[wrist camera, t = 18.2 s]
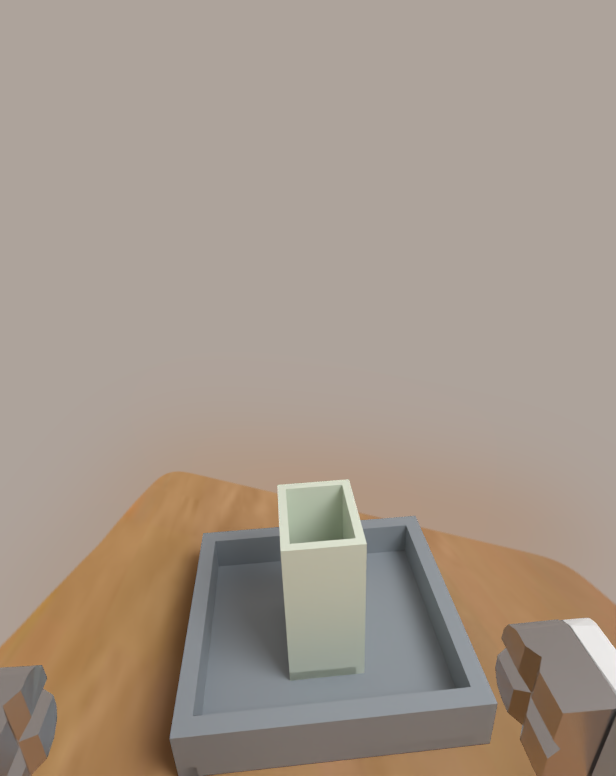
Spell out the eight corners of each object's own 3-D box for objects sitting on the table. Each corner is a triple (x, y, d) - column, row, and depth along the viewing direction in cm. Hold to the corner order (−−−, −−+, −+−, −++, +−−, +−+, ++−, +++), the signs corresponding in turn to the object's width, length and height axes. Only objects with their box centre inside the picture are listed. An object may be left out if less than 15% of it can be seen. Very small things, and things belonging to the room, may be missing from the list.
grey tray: (178, 778, 31) (169, 738, 29) (208, 566, 47) (203, 533, 45) (489, 743, 32) (497, 703, 30) (413, 548, 48) (415, 515, 47)
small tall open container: (290, 680, 35) (280, 551, 30) (285, 602, 42) (277, 485, 37) (364, 673, 36) (366, 544, 31) (348, 596, 42) (348, 479, 37)
